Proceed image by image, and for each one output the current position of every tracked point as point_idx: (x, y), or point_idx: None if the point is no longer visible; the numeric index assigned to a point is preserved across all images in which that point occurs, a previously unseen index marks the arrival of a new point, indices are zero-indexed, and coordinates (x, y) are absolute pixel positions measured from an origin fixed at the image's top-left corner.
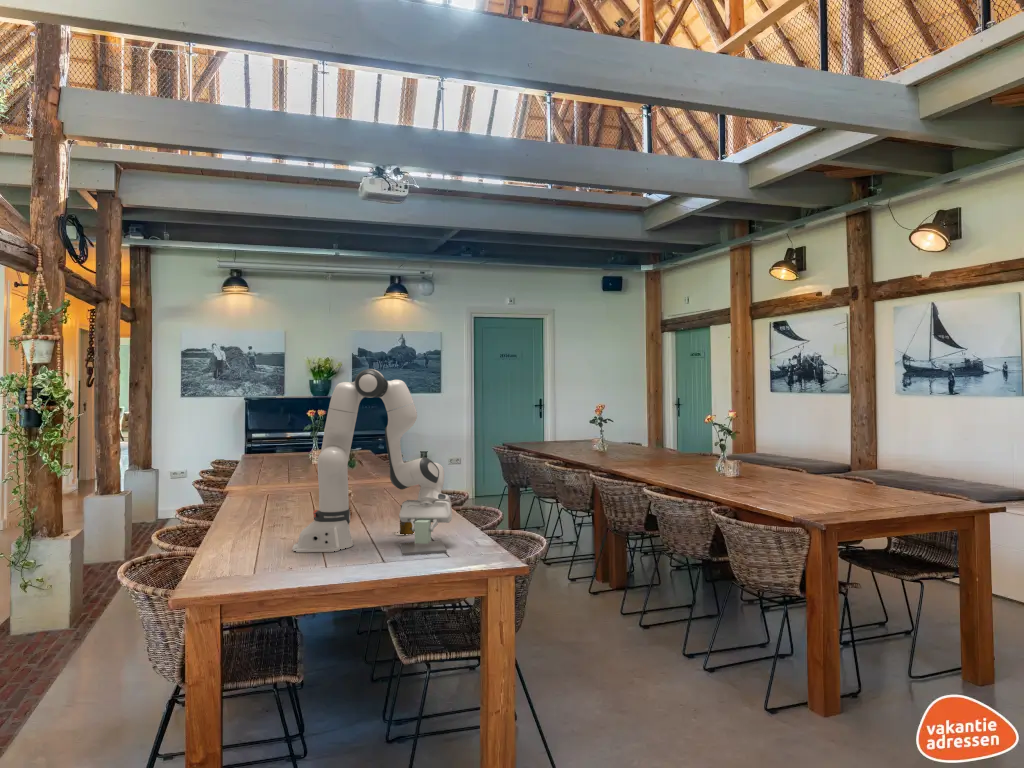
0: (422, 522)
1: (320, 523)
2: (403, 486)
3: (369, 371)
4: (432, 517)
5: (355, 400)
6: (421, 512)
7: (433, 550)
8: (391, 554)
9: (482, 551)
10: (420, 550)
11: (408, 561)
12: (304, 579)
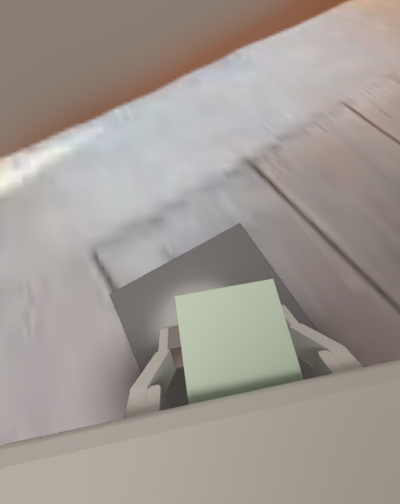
0: (213, 290)
1: None
2: None
3: None
4: (161, 410)
5: None
6: (327, 469)
7: (154, 277)
8: (279, 231)
9: None
10: (198, 265)
11: (191, 180)
12: (315, 47)
